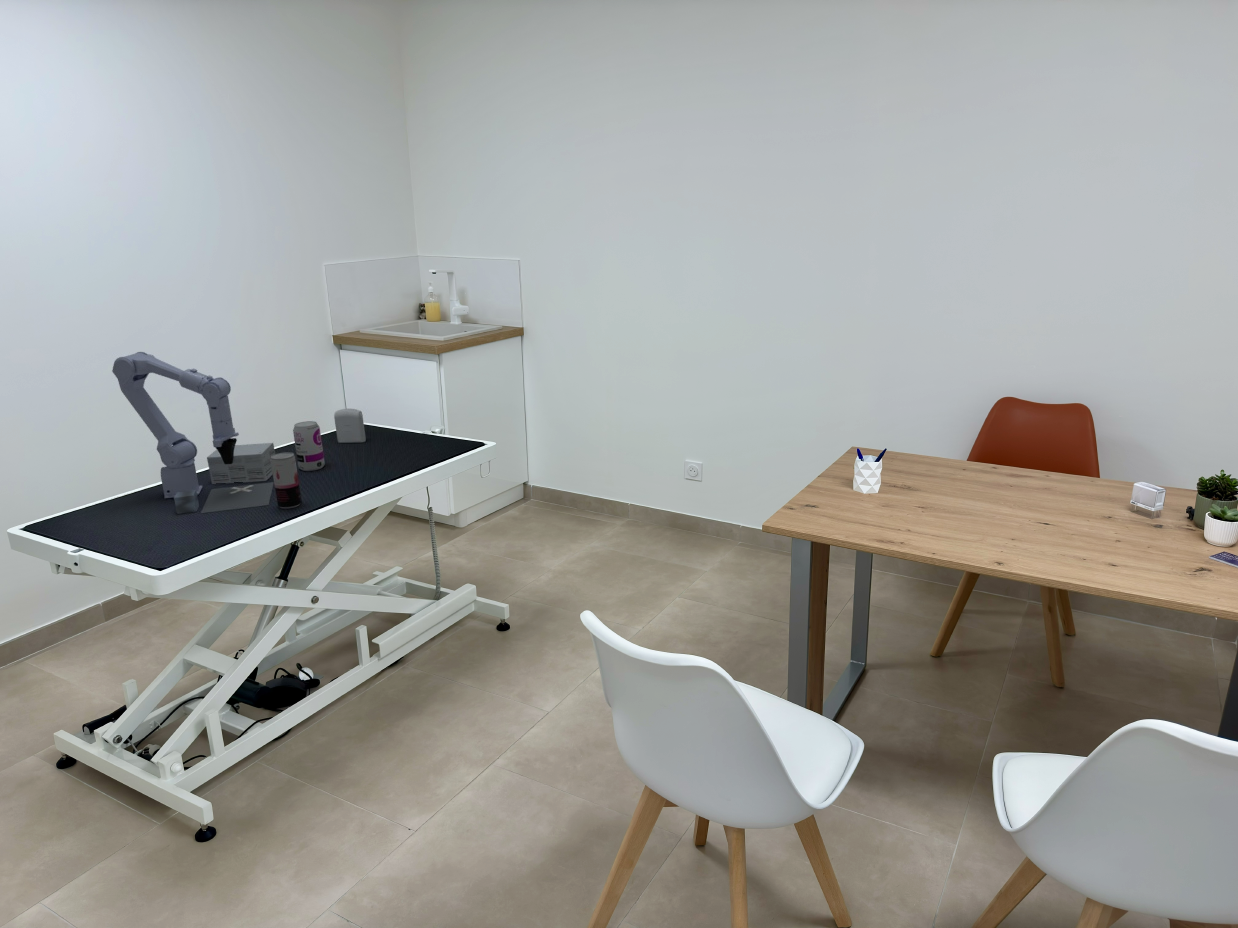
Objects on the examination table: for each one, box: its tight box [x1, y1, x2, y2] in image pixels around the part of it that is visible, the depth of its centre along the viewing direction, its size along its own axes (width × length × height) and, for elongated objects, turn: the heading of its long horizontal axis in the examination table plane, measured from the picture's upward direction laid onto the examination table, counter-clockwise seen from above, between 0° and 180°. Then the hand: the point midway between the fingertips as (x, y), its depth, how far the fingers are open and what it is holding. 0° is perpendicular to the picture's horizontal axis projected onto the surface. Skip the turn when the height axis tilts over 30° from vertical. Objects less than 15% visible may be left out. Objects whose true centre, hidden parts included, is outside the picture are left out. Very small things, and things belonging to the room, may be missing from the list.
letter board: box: [200, 481, 275, 515], centre depth 252 cm, size 18×22×1 cm
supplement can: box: [292, 420, 326, 472], centre depth 276 cm, size 8×8×15 cm
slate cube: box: [173, 490, 200, 515], centre depth 242 cm, size 5×5×5 cm
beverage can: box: [271, 452, 303, 509], centre depth 242 cm, size 6×6×15 cm
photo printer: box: [333, 408, 367, 444], centre depth 306 cm, size 10×4×12 cm, turn 85°
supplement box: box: [206, 442, 276, 485], centre depth 270 cm, size 17×13×9 cm
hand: (228, 463), depth 253 cm, fingers closed
